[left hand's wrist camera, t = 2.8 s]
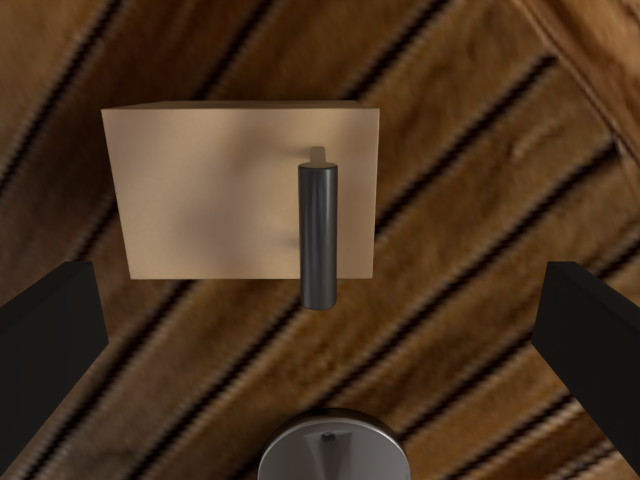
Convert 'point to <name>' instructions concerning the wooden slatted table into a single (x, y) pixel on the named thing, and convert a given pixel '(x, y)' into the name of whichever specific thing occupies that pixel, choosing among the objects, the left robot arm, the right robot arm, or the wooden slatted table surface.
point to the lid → (247, 193)
